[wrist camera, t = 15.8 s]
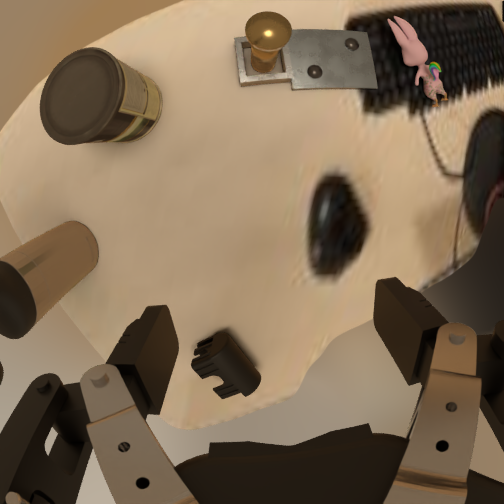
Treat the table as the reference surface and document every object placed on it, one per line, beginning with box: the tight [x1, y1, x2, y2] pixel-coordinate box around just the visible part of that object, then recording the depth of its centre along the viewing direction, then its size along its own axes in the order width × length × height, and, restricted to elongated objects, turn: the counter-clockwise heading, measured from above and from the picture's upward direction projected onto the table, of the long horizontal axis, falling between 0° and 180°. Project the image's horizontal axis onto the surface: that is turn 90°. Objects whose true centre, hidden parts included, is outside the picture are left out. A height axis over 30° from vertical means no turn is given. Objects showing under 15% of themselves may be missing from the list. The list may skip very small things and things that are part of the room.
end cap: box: [191, 333, 261, 399], centre depth 45 cm, size 10×7×7 cm
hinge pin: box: [245, 12, 292, 73], centre depth 27 cm, size 4×4×12 cm
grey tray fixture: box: [234, 29, 378, 90], centre depth 31 cm, size 19×9×2 cm, turn 97°
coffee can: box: [40, 47, 162, 145], centre depth 28 cm, size 10×10×14 cm
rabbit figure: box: [388, 16, 448, 107], centre depth 29 cm, size 6×6×15 cm
